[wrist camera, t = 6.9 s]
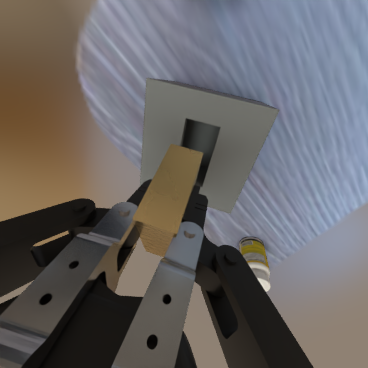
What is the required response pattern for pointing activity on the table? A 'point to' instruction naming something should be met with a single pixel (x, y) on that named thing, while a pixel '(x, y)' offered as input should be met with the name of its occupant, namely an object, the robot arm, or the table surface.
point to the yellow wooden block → (167, 198)
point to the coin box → (205, 135)
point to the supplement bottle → (256, 259)
